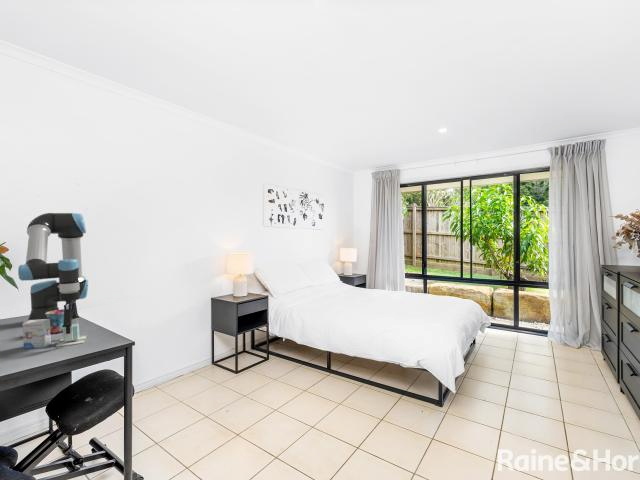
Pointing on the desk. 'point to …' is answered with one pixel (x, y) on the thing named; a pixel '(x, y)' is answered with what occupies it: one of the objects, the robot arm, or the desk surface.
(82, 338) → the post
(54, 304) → the robot arm
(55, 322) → the mug
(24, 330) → the ink box
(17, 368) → the desk surface
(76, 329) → the mint green block
